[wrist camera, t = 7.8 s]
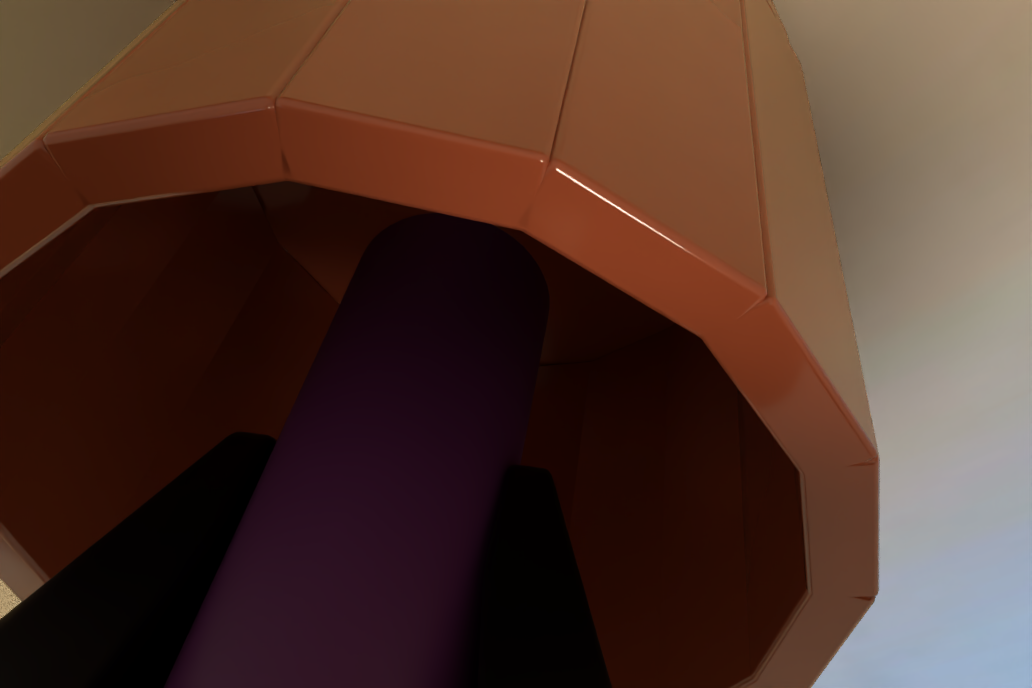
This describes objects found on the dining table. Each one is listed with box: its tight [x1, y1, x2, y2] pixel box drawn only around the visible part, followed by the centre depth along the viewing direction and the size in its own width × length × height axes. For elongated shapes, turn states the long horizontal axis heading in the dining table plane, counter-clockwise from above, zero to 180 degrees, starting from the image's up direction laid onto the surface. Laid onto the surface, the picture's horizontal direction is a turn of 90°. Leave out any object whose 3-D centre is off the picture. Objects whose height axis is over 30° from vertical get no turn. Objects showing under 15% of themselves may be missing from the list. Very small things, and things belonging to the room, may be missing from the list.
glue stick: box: [163, 213, 550, 688], centre depth 8 cm, size 2×2×8 cm
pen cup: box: [0, 0, 880, 688], centre depth 11 cm, size 9×9×8 cm
